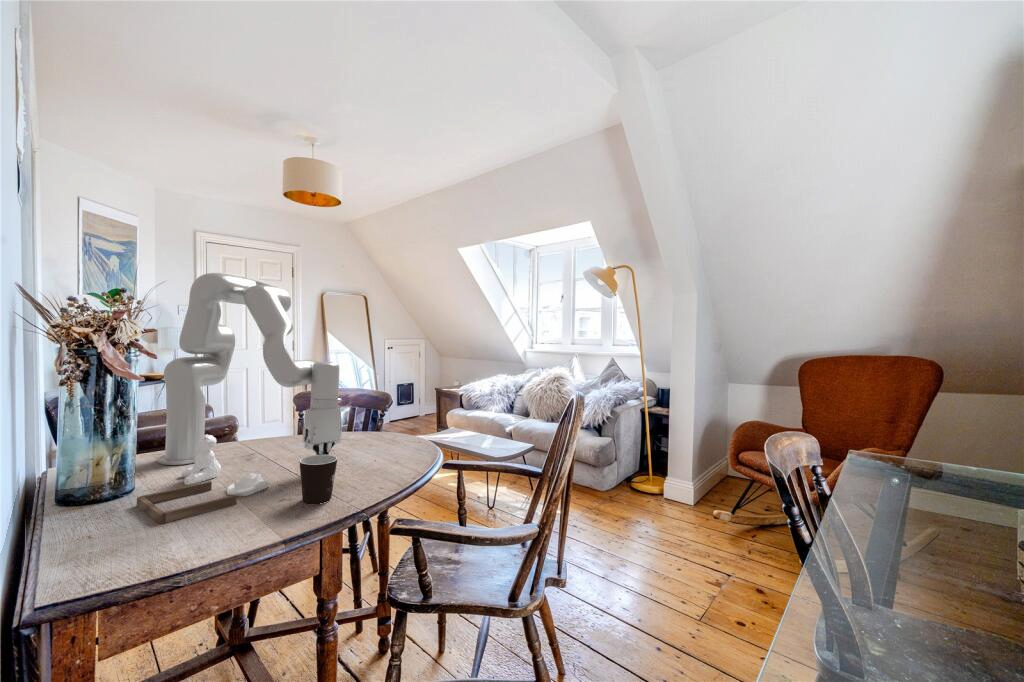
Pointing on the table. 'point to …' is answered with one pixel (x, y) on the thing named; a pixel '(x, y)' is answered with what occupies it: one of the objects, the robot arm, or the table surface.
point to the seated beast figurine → (203, 463)
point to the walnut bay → (164, 517)
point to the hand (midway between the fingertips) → (322, 465)
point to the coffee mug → (317, 478)
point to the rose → (247, 485)
